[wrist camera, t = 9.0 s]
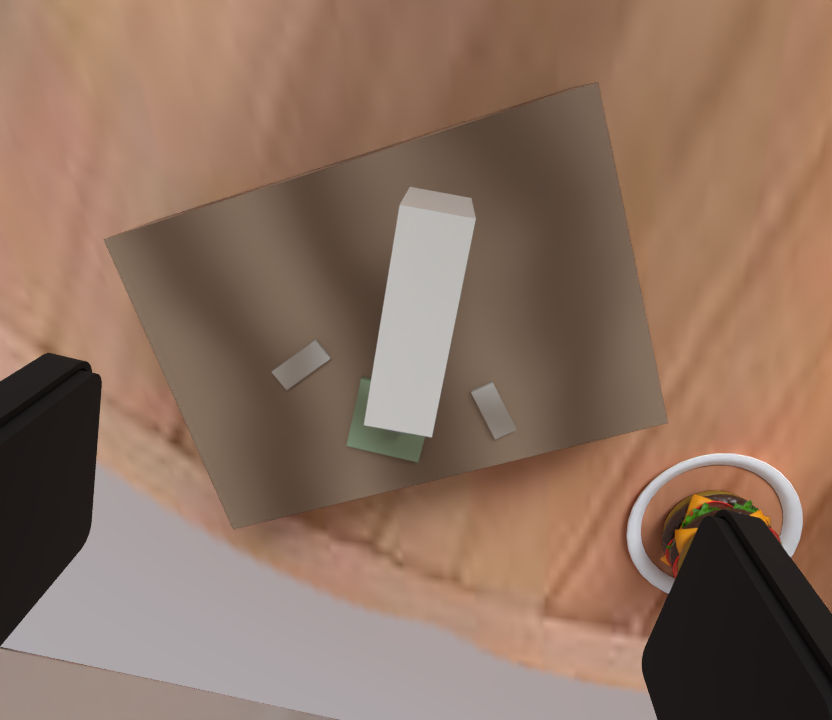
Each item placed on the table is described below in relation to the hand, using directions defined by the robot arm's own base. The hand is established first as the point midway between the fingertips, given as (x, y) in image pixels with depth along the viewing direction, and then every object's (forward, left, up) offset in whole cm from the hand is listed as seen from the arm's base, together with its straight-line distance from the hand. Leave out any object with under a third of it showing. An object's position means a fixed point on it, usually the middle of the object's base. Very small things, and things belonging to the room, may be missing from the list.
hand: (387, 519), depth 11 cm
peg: (+1, +2, -18) cm, 18 cm away
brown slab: (+2, +2, -23) cm, 23 cm away
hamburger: (-10, +18, -24) cm, 32 cm away
